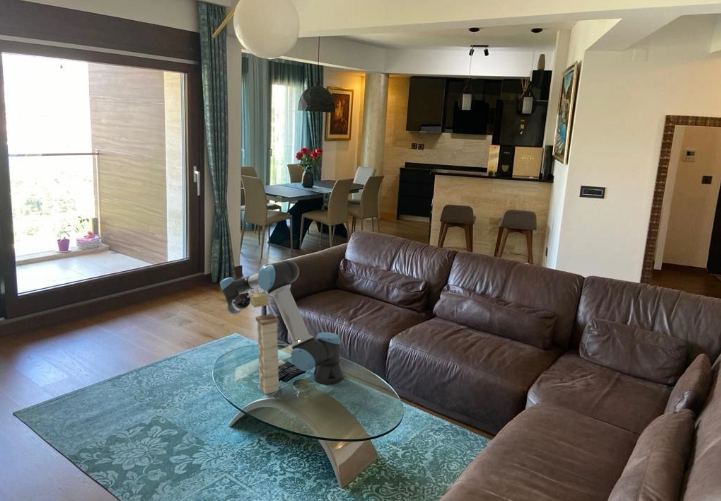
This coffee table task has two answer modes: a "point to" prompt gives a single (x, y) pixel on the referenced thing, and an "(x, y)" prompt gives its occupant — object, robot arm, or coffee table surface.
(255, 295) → the bar
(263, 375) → the pedestal
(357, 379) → the coffee table surface
